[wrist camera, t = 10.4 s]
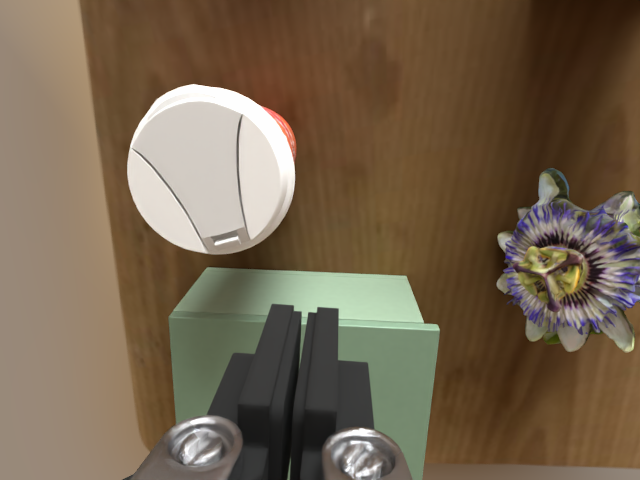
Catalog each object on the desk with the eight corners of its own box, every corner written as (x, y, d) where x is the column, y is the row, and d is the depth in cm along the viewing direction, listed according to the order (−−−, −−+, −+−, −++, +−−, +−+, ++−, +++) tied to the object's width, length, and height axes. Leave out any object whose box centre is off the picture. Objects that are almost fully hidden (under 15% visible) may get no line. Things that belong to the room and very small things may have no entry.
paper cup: (324, 183, 34) (313, 239, 20) (226, 211, 35) (155, 281, 21) (292, 75, 32) (258, 57, 18) (189, 107, 33) (84, 113, 19)
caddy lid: (437, 323, 28) (440, 330, 27) (418, 487, 32) (420, 497, 31) (172, 311, 29) (167, 316, 28) (183, 474, 32) (180, 483, 32)
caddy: (406, 275, 36) (424, 322, 28) (393, 412, 39) (406, 486, 32) (207, 266, 36) (172, 310, 29) (213, 403, 40) (184, 473, 32)
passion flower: (486, 221, 40) (505, 156, 29) (629, 217, 37) (712, 144, 26) (494, 355, 36) (518, 341, 25) (651, 362, 34) (756, 349, 23)
